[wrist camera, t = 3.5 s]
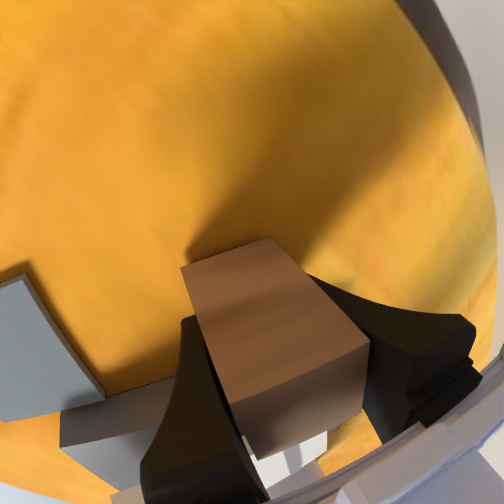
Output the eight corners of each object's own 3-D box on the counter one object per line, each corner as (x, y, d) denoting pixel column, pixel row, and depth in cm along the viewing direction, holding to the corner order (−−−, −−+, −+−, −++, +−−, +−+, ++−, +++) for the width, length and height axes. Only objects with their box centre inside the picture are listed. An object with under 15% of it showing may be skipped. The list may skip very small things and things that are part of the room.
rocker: (316, 439, 18) (328, 452, 17) (158, 520, 14) (166, 537, 13) (312, 393, 15) (329, 410, 14) (109, 495, 11) (117, 517, 10)
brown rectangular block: (282, 306, 16) (360, 412, 10) (206, 335, 15) (257, 461, 9) (270, 236, 14) (370, 340, 8) (180, 267, 13) (229, 404, 7)
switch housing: (321, 402, 23) (349, 444, 19) (129, 469, 19) (138, 517, 16) (316, 320, 18) (359, 372, 14) (59, 408, 15) (58, 471, 11)
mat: (105, 391, 15) (105, 399, 15) (5, 415, 13) (4, 422, 13) (25, 272, 11) (22, 279, 10) (-75, 319, 9) (-79, 326, 9)
